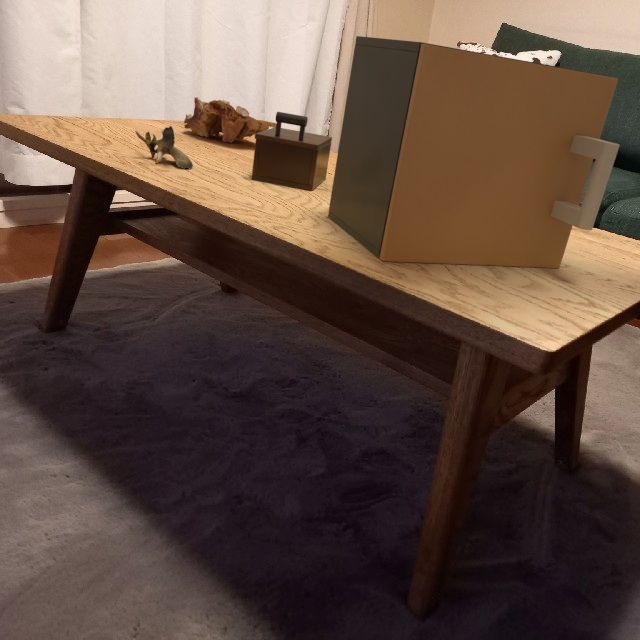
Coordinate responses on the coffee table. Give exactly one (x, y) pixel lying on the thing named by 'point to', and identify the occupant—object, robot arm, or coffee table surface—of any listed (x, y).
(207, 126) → the mineral formation
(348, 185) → the cupboard
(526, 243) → the cupboard door
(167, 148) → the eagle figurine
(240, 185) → the coffee table surface
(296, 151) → the walnut box
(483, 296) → the coffee table surface
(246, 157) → the coffee table surface
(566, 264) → the coffee table surface
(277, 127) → the walnut lid
